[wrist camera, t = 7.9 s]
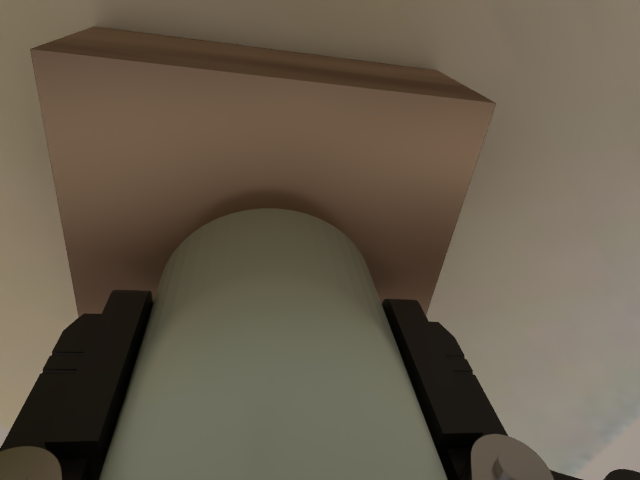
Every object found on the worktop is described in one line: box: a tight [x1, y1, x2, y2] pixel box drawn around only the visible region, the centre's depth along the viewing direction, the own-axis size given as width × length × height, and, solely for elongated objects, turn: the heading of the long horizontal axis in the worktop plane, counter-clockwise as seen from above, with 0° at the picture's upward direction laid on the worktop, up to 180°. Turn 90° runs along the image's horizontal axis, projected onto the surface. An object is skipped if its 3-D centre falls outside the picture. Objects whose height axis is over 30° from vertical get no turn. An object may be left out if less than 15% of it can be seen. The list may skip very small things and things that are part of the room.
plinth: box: [30, 27, 496, 317], centre depth 14 cm, size 10×10×4 cm
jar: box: [99, 208, 448, 480], centre depth 8 cm, size 5×5×8 cm
